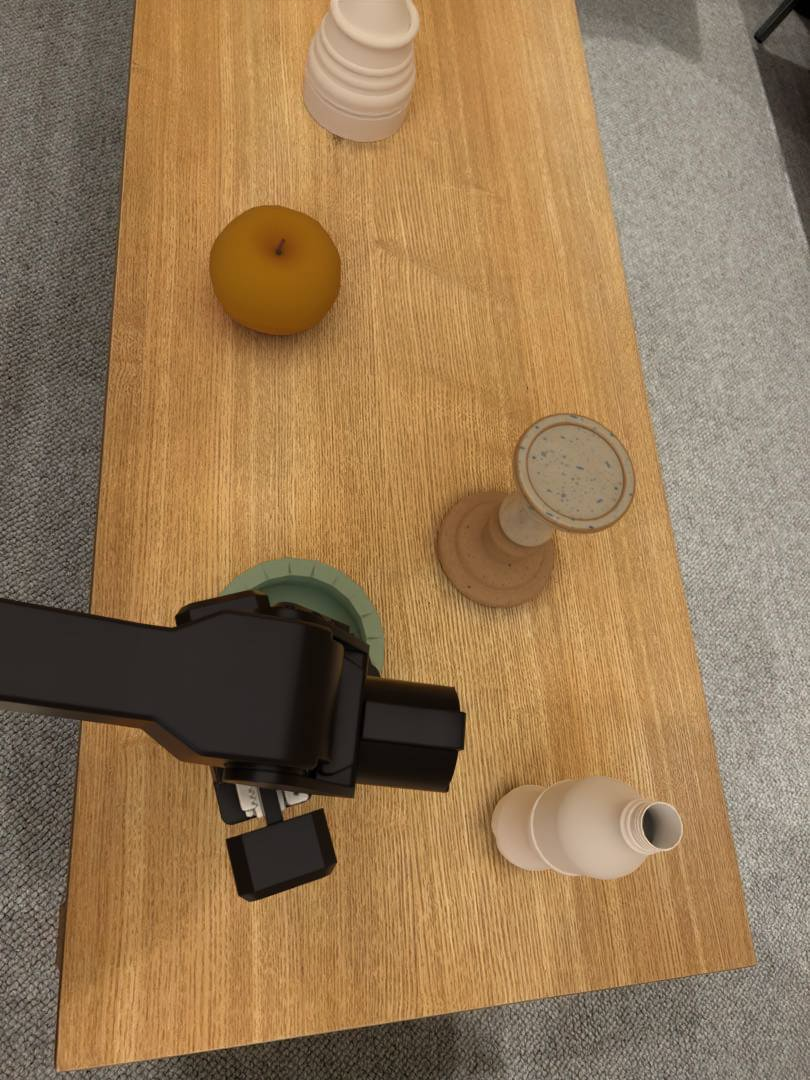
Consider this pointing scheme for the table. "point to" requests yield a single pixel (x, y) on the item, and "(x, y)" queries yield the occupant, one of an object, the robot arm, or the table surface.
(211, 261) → the apple
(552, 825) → the water bottle
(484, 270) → the table surface
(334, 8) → the honey pot
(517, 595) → the candle holder
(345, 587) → the bowl
